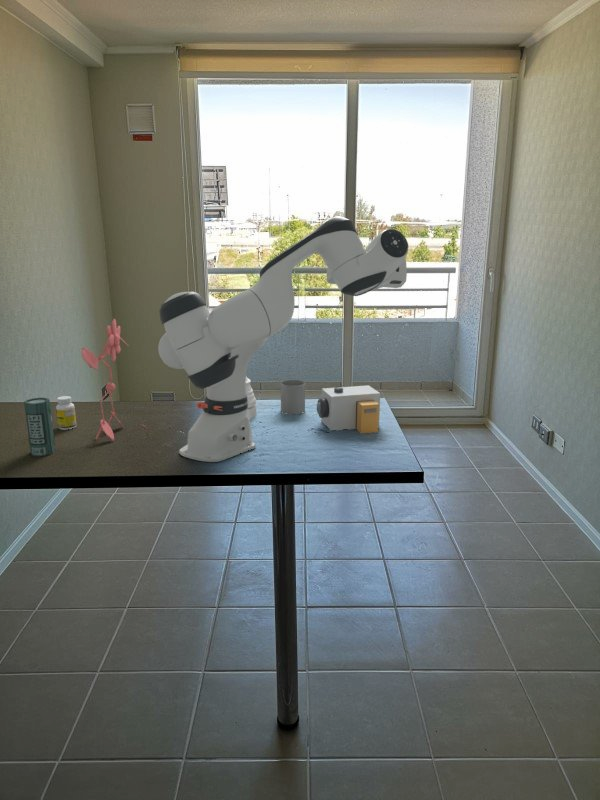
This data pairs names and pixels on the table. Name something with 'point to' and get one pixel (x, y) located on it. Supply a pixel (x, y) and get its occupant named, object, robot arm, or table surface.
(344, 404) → the camera housing
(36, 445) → the can
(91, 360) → the figurine
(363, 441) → the table surface
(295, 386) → the cup
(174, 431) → the table surface
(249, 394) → the honey pot
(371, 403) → the tan box with label
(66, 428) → the supplement bottle
